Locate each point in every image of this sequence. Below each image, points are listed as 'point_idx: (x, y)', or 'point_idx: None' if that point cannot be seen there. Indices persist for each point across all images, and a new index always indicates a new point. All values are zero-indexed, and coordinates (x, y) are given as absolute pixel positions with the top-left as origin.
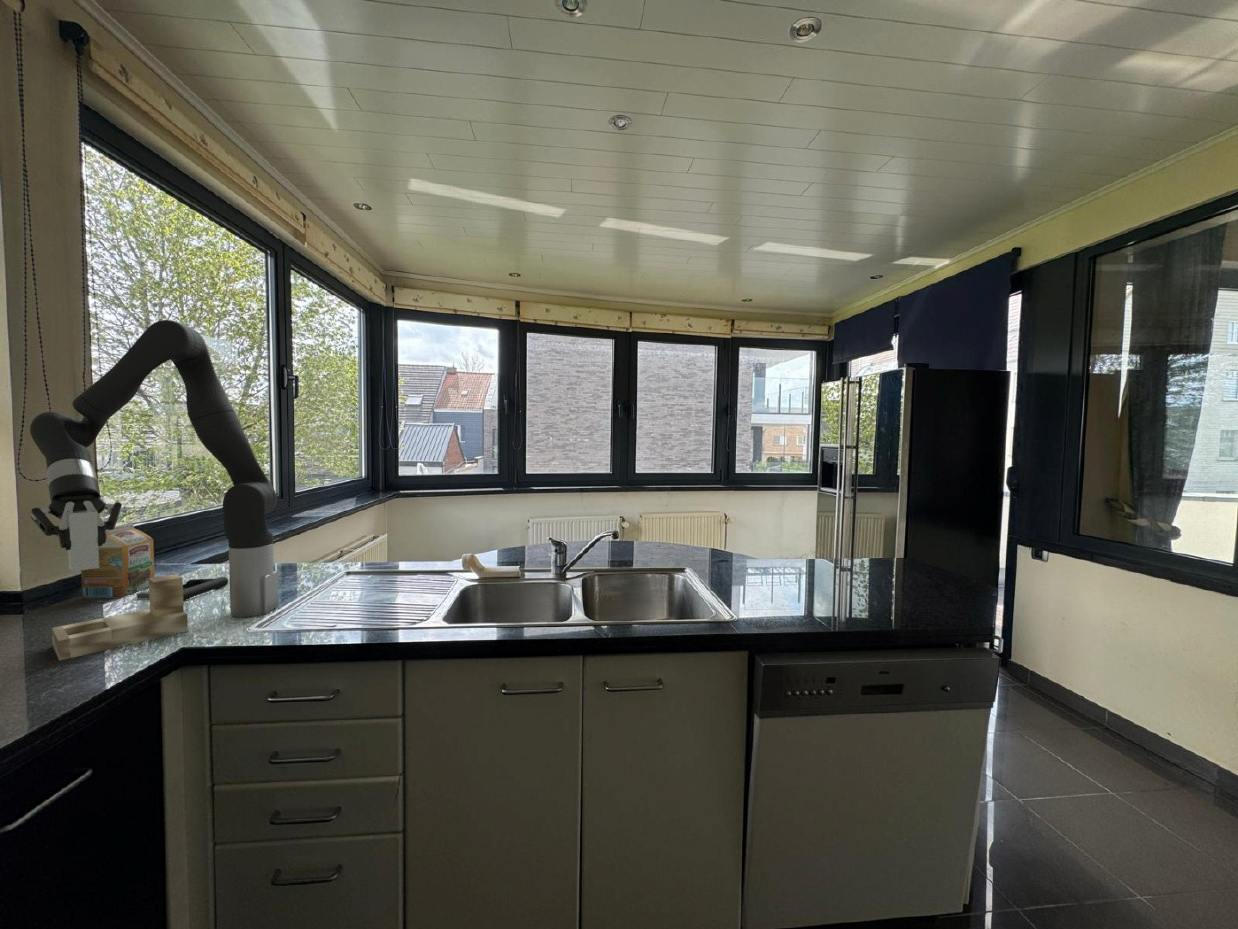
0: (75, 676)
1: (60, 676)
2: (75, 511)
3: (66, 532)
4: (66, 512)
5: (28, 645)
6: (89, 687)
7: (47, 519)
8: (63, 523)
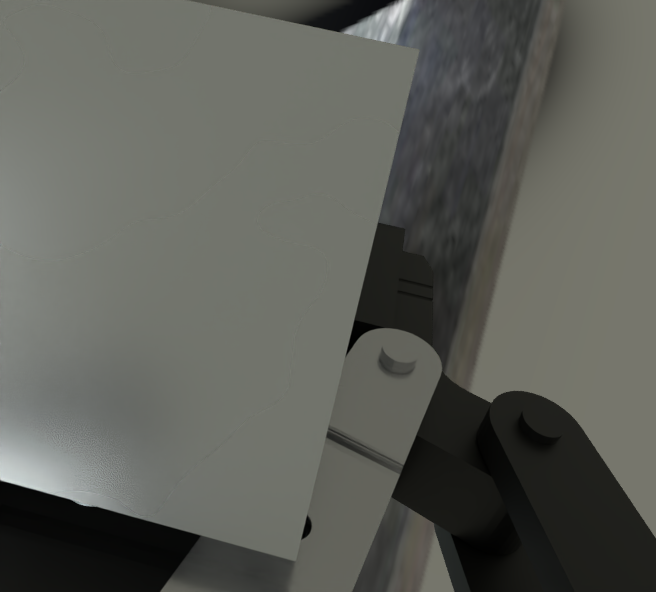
0: (418, 133)
1: (435, 166)
2: (156, 406)
3: (380, 298)
4: (301, 533)
5: (387, 554)
6: (428, 34)
7: (590, 583)
8: (381, 408)
